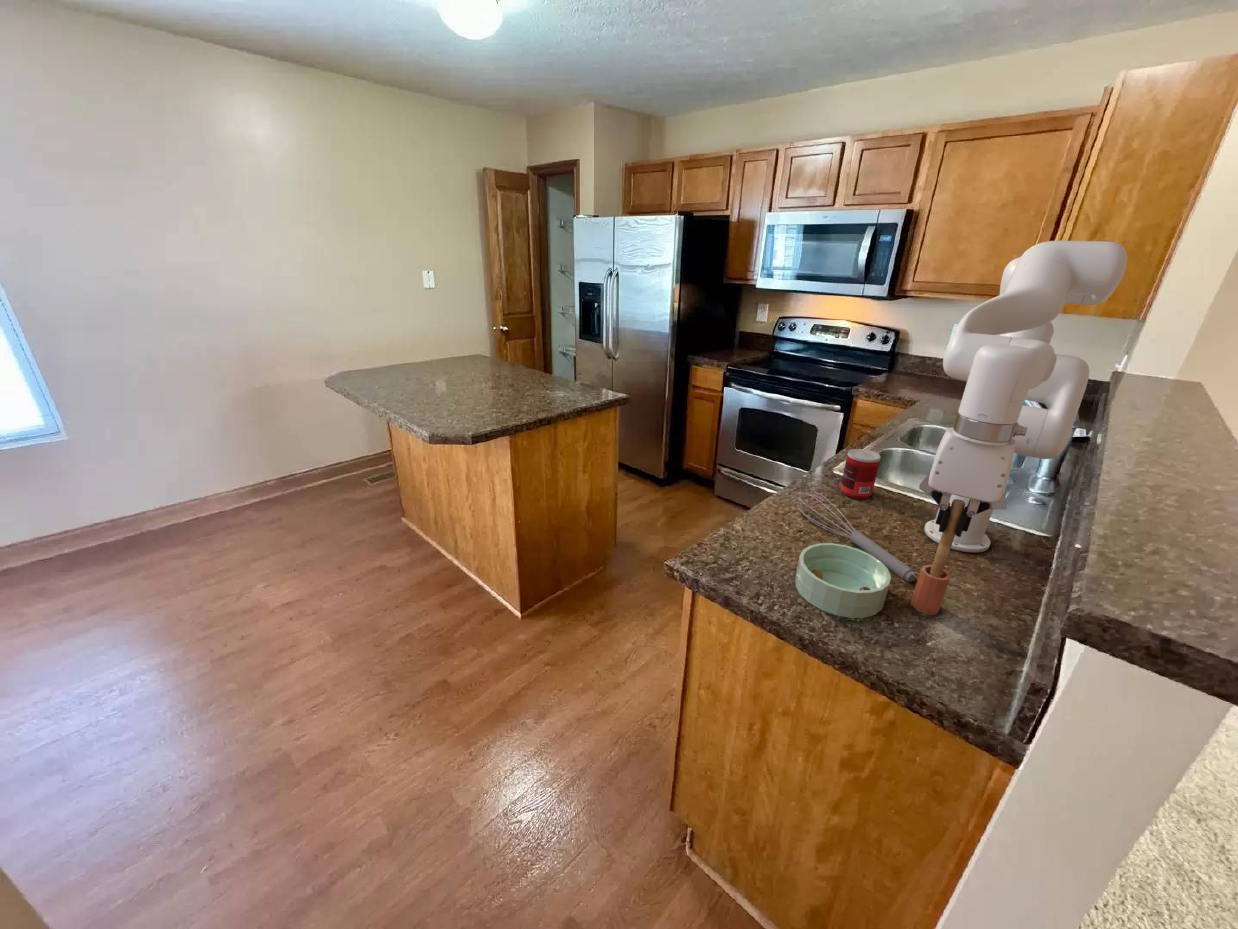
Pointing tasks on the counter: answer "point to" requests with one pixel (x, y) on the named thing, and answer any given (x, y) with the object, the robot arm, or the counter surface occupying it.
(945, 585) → the utensil pot
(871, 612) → the mixing bowl
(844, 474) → the canned food
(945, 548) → the stirring stick
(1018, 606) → the counter surface
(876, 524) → the counter surface
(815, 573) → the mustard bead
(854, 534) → the kitchen whisk
